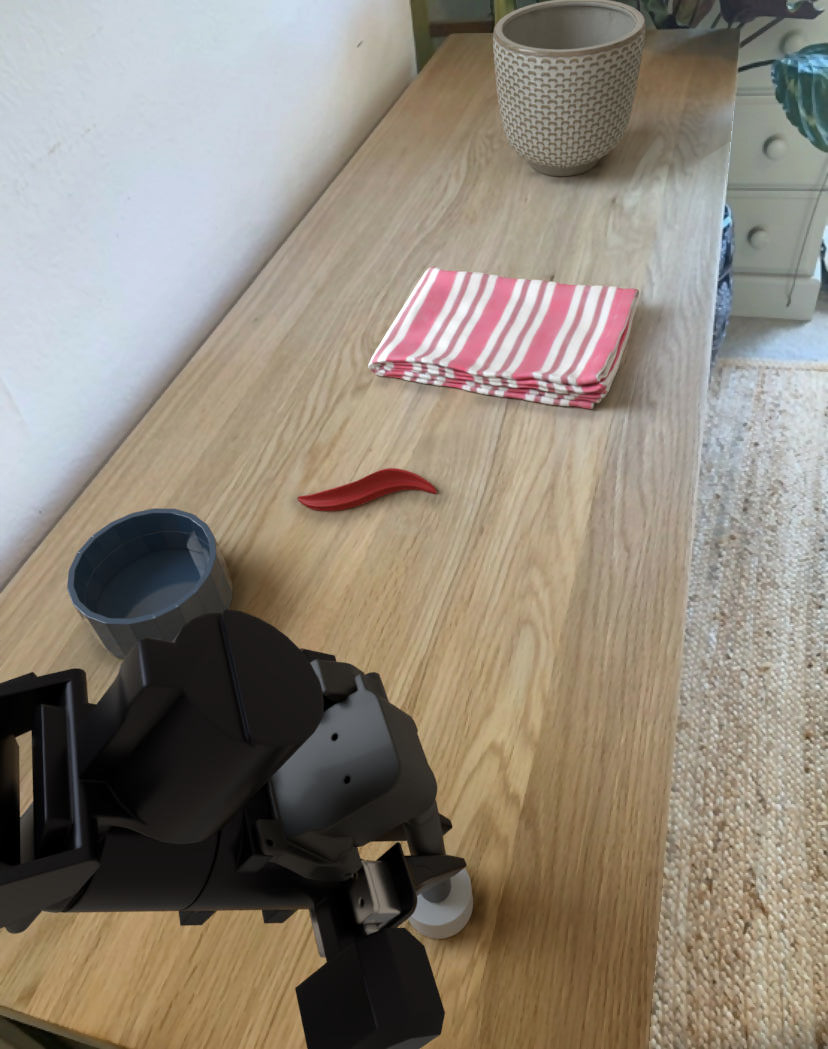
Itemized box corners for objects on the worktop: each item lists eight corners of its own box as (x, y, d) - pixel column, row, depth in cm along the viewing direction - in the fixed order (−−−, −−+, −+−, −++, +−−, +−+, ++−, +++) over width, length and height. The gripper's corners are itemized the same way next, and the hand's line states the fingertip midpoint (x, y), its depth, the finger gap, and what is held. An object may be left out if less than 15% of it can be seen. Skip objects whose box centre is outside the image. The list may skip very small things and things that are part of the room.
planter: (510, 129, 117) (508, -2, 105) (639, 132, 112) (653, -4, 101) (482, 191, 106) (477, 52, 94) (624, 197, 102) (638, 52, 90)
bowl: (71, 660, 64) (43, 621, 60) (120, 548, 71) (98, 507, 67) (212, 666, 62) (192, 626, 59) (247, 550, 70) (231, 509, 66)
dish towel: (605, 414, 76) (608, 384, 74) (366, 377, 83) (361, 348, 81) (640, 307, 87) (643, 276, 84) (424, 281, 94) (421, 252, 91)
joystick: (401, 936, 49) (367, 838, 38) (408, 865, 51) (379, 756, 41) (471, 942, 48) (456, 844, 38) (475, 870, 51) (462, 760, 40)
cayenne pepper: (440, 474, 73) (438, 458, 72) (434, 514, 70) (432, 498, 69) (304, 471, 75) (300, 456, 74) (293, 510, 72) (288, 494, 71)
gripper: (356, 984, 25) (652, 959, 35) (246, 544, 38) (488, 615, 47) (175, 1125, 30) (479, 1068, 40) (130, 693, 43) (371, 730, 52)
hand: (453, 847), depth 45 cm, fingers closed on joystick, 2 cm apart
